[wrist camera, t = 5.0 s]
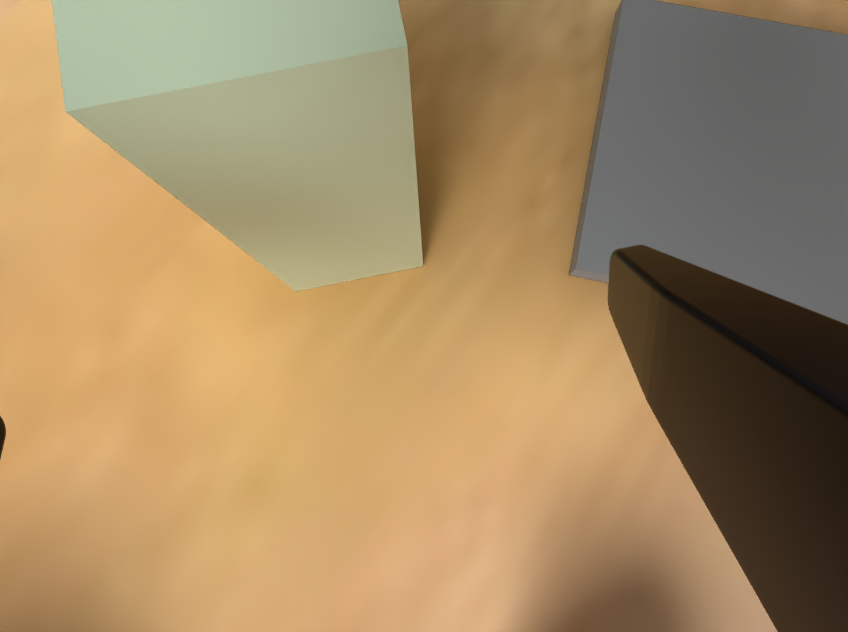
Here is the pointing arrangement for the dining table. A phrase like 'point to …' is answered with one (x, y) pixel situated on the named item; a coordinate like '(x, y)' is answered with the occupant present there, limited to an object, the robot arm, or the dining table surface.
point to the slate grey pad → (722, 151)
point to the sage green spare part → (260, 121)
